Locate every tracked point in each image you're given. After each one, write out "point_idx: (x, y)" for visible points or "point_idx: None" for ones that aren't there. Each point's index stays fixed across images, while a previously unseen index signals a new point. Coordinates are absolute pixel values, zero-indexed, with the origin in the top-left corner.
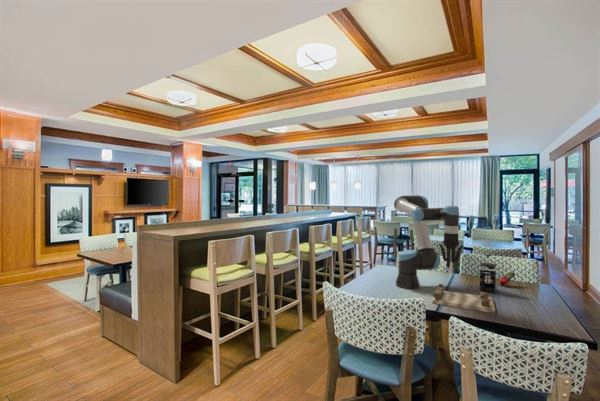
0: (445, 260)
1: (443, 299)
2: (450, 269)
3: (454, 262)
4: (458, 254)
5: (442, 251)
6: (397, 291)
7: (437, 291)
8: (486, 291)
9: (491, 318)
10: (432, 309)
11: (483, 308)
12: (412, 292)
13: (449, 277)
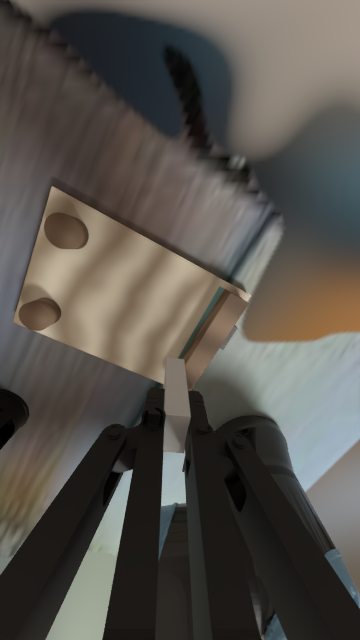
0: (241, 437)
1: (208, 297)
2: (182, 375)
3: (151, 409)
4: (62, 525)
5: (358, 607)
6: (305, 394)
7: (226, 326)
8: (10, 395)
9: (97, 129)
10: (277, 231)
11: (92, 208)
12: (261, 387)
13: None
